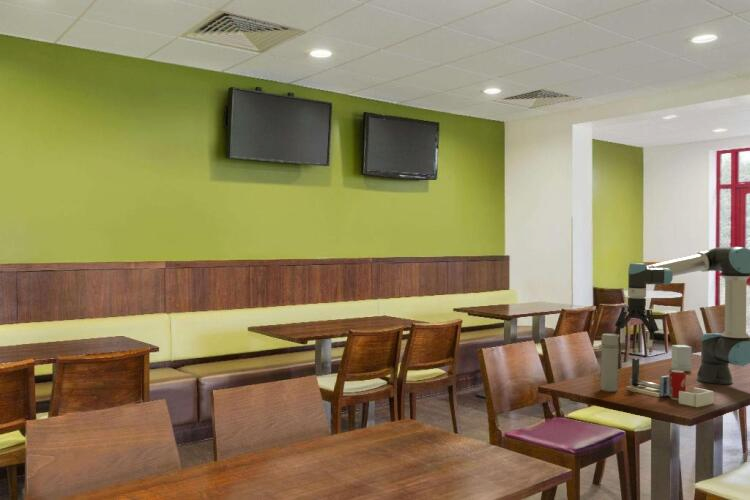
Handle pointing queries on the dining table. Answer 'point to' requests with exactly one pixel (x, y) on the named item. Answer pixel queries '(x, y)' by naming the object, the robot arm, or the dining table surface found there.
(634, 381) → the metal lever handle
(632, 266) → the robot arm
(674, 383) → the beverage can
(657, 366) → the dining table surface
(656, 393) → the panel
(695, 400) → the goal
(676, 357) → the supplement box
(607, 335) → the water bottle
